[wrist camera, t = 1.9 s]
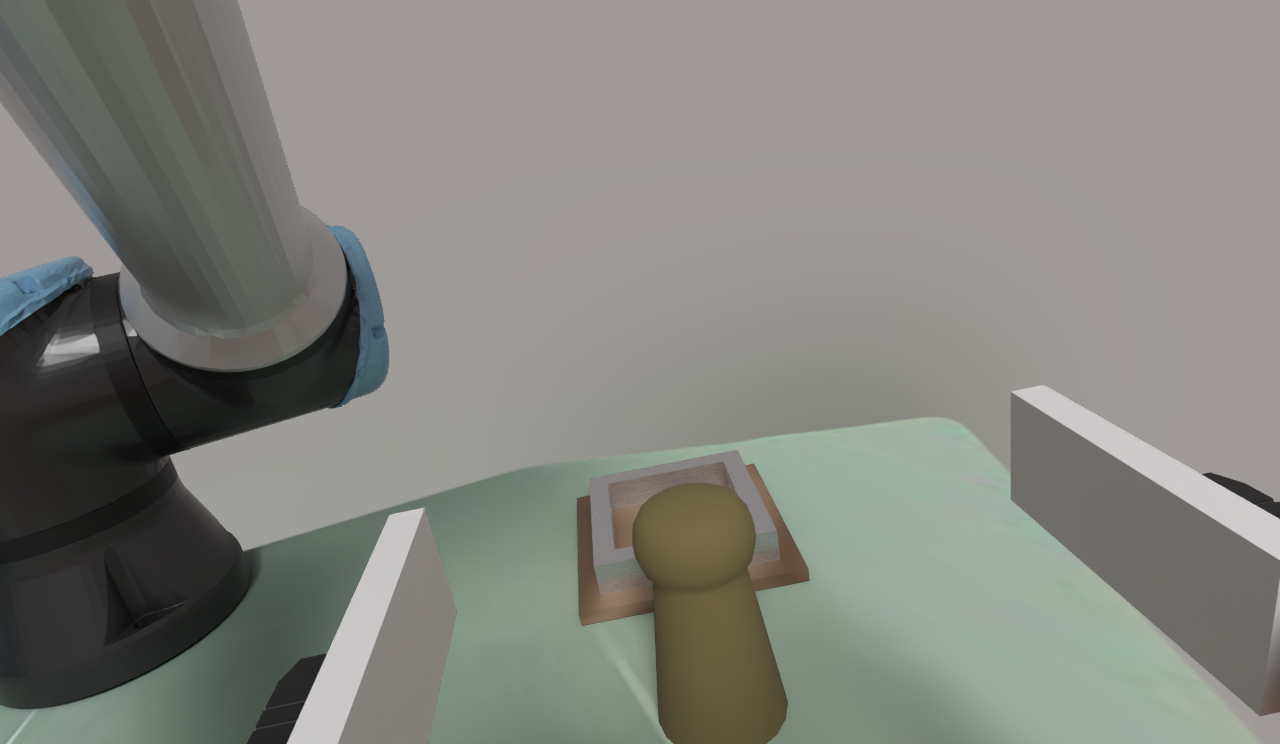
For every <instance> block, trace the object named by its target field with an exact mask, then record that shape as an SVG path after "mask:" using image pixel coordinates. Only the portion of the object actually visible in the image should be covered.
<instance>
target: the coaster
mask: <svg viewBox="0 0 1280 744" xmlns="http://www.w3.org/2000/svg"><path fill="white" fill-rule="evenodd" d="M589 482H590V496H586V497H580V498H577V522H578V582H579V616H580V620H581V624H582V626H583V625H588V624H593V623H598V622H603V621H608V620H613V619H618V618H623V617H628V616H633V615H638V614H643V613H648V612H653V611H654V599H653V582H652V581H650V580H649V579H648V578H647V577H646V576H645V574H644V572H643V571H642V569H641V568H640V566H639V564H638V562H637V560H636V558H635V555H634V550H633V546H632V530H633V523H634V520H635V518H636V516H637V514H638V512H639V510H640V508H641V506H642V504H644V503H645V502H646V501H647V500H648V499H649V498H650V497H651V496H653V495H655V494H657V493H659V492H661V491H662V490H664V489H666V488H669V487H672V486H676V485H679V484H685V483H692V482H704V483H710V484H716V485H721V486H724V487H726V488H728V489H730V490H732V491H733V492H734V493H736V494H737V495H738V496H739V497H740V498H741V499H742V500H743V502H744V503H745V504H746V505H747V506H748V509H749V511H750V513H751V516H752V519H753V522H754V525H755V532H756V542H755V549H754V553H753V557H752V561H751V563H750V564H749V566H748V571H749V574H750V577H751V581H752V584H753V587H754V591H758V590H763V589H768V588H773V587H778V586H783V585H788V584H793V583H798V582H803V581H808V580H809V571H808V567H807V565H806V563H805V561H804V559H803V557H802V556H801V554H800V552H799V550H798V548H797V546H796V544H795V542H794V540H793V538H792V536H791V534H790V532H789V530H788V528H787V527H786V525H785V523H784V521H783V519H782V517H781V515H780V513H779V511H778V509H777V507H776V505H775V503H774V501H773V499H772V498H771V496H770V494H769V492H768V490H767V488H766V486H765V484H764V482H763V480H762V478H761V476H760V474H759V472H758V470H757V469H756V467H755V465H754V464H750V465H745V464H744V462H743V460H742V458H741V456H740V454H739V452H738V450H734V451H729V452H724V453H719V454H714V455H709V456H703V457H698V458H693V459H688V460H683V461H678V462H672V463H667V464H662V465H657V466H652V467H647V468H642V469H636V470H631V471H626V472H621V473H616V474H611V475H606V476H600V477H595V478H590V479H589Z"/></svg>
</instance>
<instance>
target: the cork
mask: <svg viewBox="0 0 1280 744" xmlns="http://www.w3.org/2000/svg"><path fill="white" fill-rule="evenodd" d="M755 542H756V532H755V525H754V522H753V519H752V516H751V513H750V511H749V509H748V506H747V505H746V504H745V503H744V502H743V500H742V499H741V498H740V497H739V496H738V495H737V494H736V493H734V492H733V491H732V490H730V489H728V488H726V487H724V486H721V485H716V484H710V483H704V482H692V483H685V484H679V485H676V486H672V487H669V488H666V489H664V490H662V491H661V492H659V493H657V494H655V495H653V496H651V497H650V498H649V499H648V500H647V501H646V502H645V503H644V504H642V506H641V508H640V510H639V512H638V514H637V516H636V518H635V520H634V523H633V530H632V546H633V550H634V555H635V558H636V560H637V562H638V564H639V566H640V568H641V569H642V571H643V572H644V574H645V576H646V577H647V578H648V579H649V580H650V581H652V582H653V599H654V623H655V646H656V670H657V694H658V714H659V723H660V725H661V727H662V729H663V731H664V733H665V735H666V737H667V738H668V739H669V740H670V741H671V742H673V743H674V744H766V743H768V742H769V741H770V740H771V739H772V738H773V737H774V736H776V735H777V733H778V731H779V730H780V728H781V726H782V724H783V723H784V721H785V719H786V712H787V705H788V702H787V698H786V694H785V691H784V687H783V684H782V680H781V677H780V674H779V670H778V667H777V664H776V660H775V657H774V654H773V650H772V647H771V644H770V641H769V637H768V634H767V631H766V627H765V624H764V621H763V617H762V614H761V611H760V607H759V604H758V601H757V597H756V594H755V591H754V587H753V584H752V581H751V577H750V574H749V571H748V566H749V564H750V563H751V561H752V557H753V553H754V549H755Z"/></svg>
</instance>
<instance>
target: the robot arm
mask: <svg viewBox="0 0 1280 744" xmlns="http://www.w3.org/2000/svg"><path fill="white" fill-rule="evenodd" d="M0 103H1V104H2V105H3V106H4V108H5V109H6V110H7V112H8V113H9V114H10V116H11V117H12V118H13V120H14V121H15V122H16V124H17V125H18V126H19V128H20V129H21V130H22V131H23V133H24V134H25V135H26V137H27V138H28V139H29V141H30V142H31V143H32V145H33V146H34V147H35V148H36V150H37V151H38V152H39V154H40V155H41V156H42V158H43V159H44V160H45V161H46V163H47V164H48V165H49V167H50V168H51V169H52V171H53V172H54V173H55V175H56V176H57V177H58V179H59V180H60V181H61V182H62V184H63V185H64V186H65V188H66V189H67V190H68V192H69V193H70V194H71V196H72V197H73V198H74V200H75V201H76V202H77V204H78V205H79V206H80V207H81V209H82V210H83V211H84V213H85V214H86V215H87V217H88V218H89V219H90V221H91V222H92V223H93V225H94V226H95V227H96V228H97V230H98V231H99V232H100V234H101V235H102V236H103V237H104V239H105V240H106V242H107V243H108V244H109V245H110V247H111V248H112V249H113V251H114V252H115V253H116V255H117V256H118V257H119V259H120V260H121V261H122V263H123V264H122V267H121V271H120V272H119V273H114V274H109V275H105V276H99V277H92V274H93V273H94V272H93V269H92V267H90V266H88V265H87V264H86V263H85V262H84V261H83V260H82V259H81V258H79V257H76V256H71V257H66V258H63V259H60V260H56V261H53V262H50V263H47V264H43V265H39V266H36V267H33V268H30V269H27V270H24V271H21V272H17V273H15V274H12V275H8V276H5V277H2V278H0V705H3V706H6V707H11V708H19V709H30V708H41V707H48V706H54V705H59V704H63V703H67V702H71V701H75V700H78V699H81V698H85V697H88V696H91V695H94V694H97V693H99V692H102V691H105V690H107V689H110V688H112V687H115V686H117V685H119V684H122V683H124V682H126V681H128V680H131V679H133V678H135V677H137V676H139V675H141V674H143V673H145V672H147V671H149V670H151V669H153V668H154V667H156V666H158V665H160V664H162V663H163V662H165V661H167V660H168V659H170V658H172V657H173V656H175V655H177V654H178V653H180V652H181V651H183V650H184V649H186V648H187V647H189V646H190V645H192V644H193V643H194V642H196V641H197V640H199V639H200V638H201V637H203V636H204V635H205V634H206V633H208V632H209V631H210V630H211V629H213V628H214V627H215V626H216V625H217V624H218V623H219V622H220V621H222V620H223V619H224V618H225V617H226V616H227V615H228V614H229V613H230V611H231V610H232V609H233V608H234V607H235V606H236V605H237V603H238V602H239V601H240V599H241V598H242V596H243V595H244V593H245V591H246V589H247V587H248V585H249V582H250V577H251V571H250V567H249V565H248V562H247V560H246V558H245V555H244V553H243V551H242V548H241V546H240V544H239V542H238V541H237V539H236V538H235V537H234V536H233V535H232V534H231V533H229V532H227V531H226V530H225V529H224V527H223V526H222V525H221V524H220V523H219V522H218V521H217V519H216V518H215V517H214V516H213V515H212V514H211V513H210V512H209V511H208V510H207V509H206V508H205V507H204V506H203V505H202V504H201V503H200V502H199V501H198V499H197V498H196V497H194V496H193V494H192V493H190V492H189V490H188V489H186V487H185V486H184V485H183V484H182V482H181V481H180V479H179V476H178V475H177V472H176V470H175V467H174V465H173V463H172V461H171V458H170V456H169V455H171V454H175V453H177V452H181V451H184V450H188V449H191V448H194V447H197V446H201V445H204V444H207V443H211V442H214V441H217V440H221V439H224V438H228V437H231V436H234V435H238V434H241V433H244V432H248V431H251V430H254V429H258V428H261V427H264V426H268V425H271V424H275V423H278V422H281V421H284V420H288V419H291V418H295V417H298V416H301V415H305V414H308V413H311V412H315V411H318V410H322V409H325V408H337V407H341V406H342V405H345V404H347V403H348V402H349V401H350V400H352V399H355V398H358V397H361V396H364V395H367V394H370V393H372V392H374V391H375V390H377V389H378V388H379V387H380V386H381V385H382V384H383V382H384V381H385V379H386V376H387V373H388V367H389V345H388V338H387V334H386V331H385V328H384V326H383V325H384V324H383V323H384V315H383V309H382V304H381V300H380V296H379V292H378V288H377V285H376V281H375V278H374V275H373V272H372V269H371V266H370V263H369V261H368V259H367V256H366V253H365V251H364V249H363V247H362V245H361V243H360V241H359V240H358V238H357V237H356V236H355V234H354V233H353V232H351V231H350V230H348V229H346V228H345V227H343V226H328V225H326V224H325V223H324V222H323V221H321V219H320V218H319V217H317V216H316V215H315V214H314V213H312V212H310V211H309V210H308V209H306V208H304V207H303V206H301V205H300V204H299V201H298V198H297V194H296V191H295V188H294V184H293V181H292V178H291V175H290V171H289V168H288V165H287V161H286V158H285V155H284V152H283V148H282V145H281V142H280V139H279V135H278V132H277V129H276V125H275V122H274V119H273V116H272V112H271V109H270V106H269V102H268V99H267V96H266V92H265V90H264V86H263V83H262V79H261V76H260V73H259V69H258V66H257V63H256V60H255V56H254V53H253V50H252V46H251V43H250V40H249V37H248V33H247V30H246V27H245V23H244V20H243V17H242V14H241V10H240V7H239V4H238V0H0ZM1011 500H1012V501H1013V502H1014V503H1015V504H1016V505H1018V506H1019V507H1020V508H1021V509H1022V510H1023V511H1025V512H1026V513H1027V514H1028V515H1029V516H1030V517H1031V518H1033V519H1034V520H1035V521H1036V522H1037V523H1038V524H1039V525H1041V526H1042V527H1043V528H1044V529H1045V530H1046V531H1047V532H1049V533H1050V534H1051V535H1052V536H1053V537H1054V538H1056V539H1057V540H1058V541H1059V542H1060V543H1061V544H1062V545H1064V546H1065V547H1066V548H1067V549H1068V550H1069V551H1070V552H1072V553H1073V554H1074V555H1075V556H1076V557H1077V558H1078V559H1080V560H1081V561H1082V562H1083V563H1084V564H1085V565H1087V566H1088V567H1089V568H1090V569H1091V570H1092V571H1093V572H1095V573H1096V574H1097V575H1098V576H1099V577H1100V578H1101V579H1103V580H1104V581H1105V582H1106V583H1107V584H1108V585H1110V586H1111V587H1112V588H1113V589H1114V590H1115V591H1116V592H1118V593H1119V594H1120V595H1121V596H1122V597H1123V598H1124V599H1126V600H1127V601H1128V602H1129V603H1130V604H1131V605H1132V606H1134V607H1135V608H1136V609H1137V610H1138V611H1139V612H1141V613H1142V614H1143V615H1144V616H1145V617H1146V618H1147V619H1149V620H1150V621H1151V622H1152V623H1153V624H1154V625H1155V626H1157V627H1158V628H1159V629H1160V630H1161V631H1162V632H1164V633H1165V634H1166V635H1167V636H1168V637H1169V638H1170V639H1172V640H1173V641H1174V642H1175V643H1176V644H1177V645H1178V646H1180V647H1181V648H1182V649H1183V650H1184V651H1185V652H1186V653H1188V654H1189V655H1190V656H1191V657H1192V658H1194V660H1196V661H1197V662H1198V663H1199V664H1200V665H1201V666H1203V667H1204V668H1205V669H1206V670H1207V671H1208V672H1209V673H1211V674H1212V675H1213V676H1214V677H1215V678H1217V679H1218V680H1219V681H1220V682H1221V683H1222V684H1223V685H1224V686H1226V687H1227V688H1228V689H1229V690H1230V691H1231V692H1232V693H1234V694H1235V695H1236V696H1237V697H1238V698H1239V699H1241V700H1242V701H1243V702H1244V703H1245V704H1246V705H1247V706H1249V707H1250V708H1251V709H1252V710H1253V711H1254V712H1255V713H1257V714H1258V715H1259V716H1263V715H1268V714H1273V713H1277V712H1280V502H1274V501H1273V499H1272V498H1271V497H1269V496H1267V495H1265V494H1264V493H1261V492H1260V491H1258V490H1256V489H1254V488H1253V487H1251V486H1249V485H1247V484H1245V483H1242V482H1239V481H1235V480H1232V479H1229V478H1226V477H1223V476H1220V475H1216V474H1213V473H1206V474H1200V473H1198V472H1196V471H1194V470H1192V469H1191V468H1189V467H1187V466H1186V465H1184V464H1182V463H1180V462H1178V461H1177V460H1175V459H1173V458H1171V457H1170V456H1168V455H1166V454H1164V453H1163V452H1161V451H1159V450H1157V449H1156V448H1154V447H1152V446H1150V445H1149V444H1147V443H1145V442H1143V441H1142V440H1140V439H1138V438H1136V437H1134V436H1133V435H1131V434H1129V433H1127V432H1126V431H1124V430H1122V429H1121V428H1118V427H1117V426H1115V425H1113V424H1112V423H1110V422H1108V421H1106V420H1105V419H1103V418H1101V417H1099V416H1098V415H1096V414H1094V413H1092V412H1091V411H1089V410H1087V409H1085V408H1084V407H1082V406H1080V405H1078V404H1077V403H1075V402H1073V401H1071V400H1070V399H1068V398H1066V397H1064V396H1062V395H1061V394H1059V393H1057V392H1055V391H1054V390H1052V389H1050V388H1048V387H1047V386H1045V385H1042V386H1037V387H1032V388H1027V389H1022V390H1016V391H1011ZM456 614H457V610H456V607H455V603H454V600H453V597H452V594H451V590H450V587H449V584H448V581H447V578H446V574H445V571H444V568H443V565H442V562H441V558H440V555H439V552H438V549H437V545H436V542H435V539H434V536H433V533H432V529H431V526H430V523H429V520H428V517H427V513H426V510H425V508H420V509H415V510H410V511H405V512H400V513H395V514H390V515H389V517H388V519H387V522H386V524H385V526H384V528H383V531H382V533H381V535H380V537H379V539H378V542H377V544H376V546H375V548H374V551H373V553H372V555H371V557H370V560H369V562H368V564H367V566H366V568H365V571H364V573H363V575H362V577H361V580H360V582H359V584H358V586H357V588H356V591H355V593H354V595H353V597H352V600H351V602H350V604H349V606H348V609H347V611H346V613H345V615H344V617H343V620H342V622H341V624H340V626H339V629H338V631H337V633H336V635H335V637H334V640H333V642H332V644H331V646H330V649H329V651H328V653H327V654H322V655H318V656H313V657H308V658H303V659H300V660H299V661H298V662H297V663H296V664H295V665H294V666H293V668H292V669H291V670H290V671H289V672H288V673H287V674H286V675H285V676H284V677H283V678H282V679H281V680H280V681H279V682H278V684H277V686H276V688H275V690H274V692H273V694H272V696H271V698H270V700H269V702H268V704H267V706H266V711H263V713H262V715H261V717H260V719H259V721H258V723H257V725H256V731H253V733H252V735H251V737H250V739H249V741H248V743H247V744H427V742H428V738H429V733H430V729H431V725H432V720H433V716H434V711H435V707H436V702H437V698H438V694H439V689H440V685H441V680H442V676H443V671H444V667H445V663H446V658H447V654H448V649H449V645H450V640H451V636H452V632H453V627H454V623H455V618H456Z"/></svg>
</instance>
